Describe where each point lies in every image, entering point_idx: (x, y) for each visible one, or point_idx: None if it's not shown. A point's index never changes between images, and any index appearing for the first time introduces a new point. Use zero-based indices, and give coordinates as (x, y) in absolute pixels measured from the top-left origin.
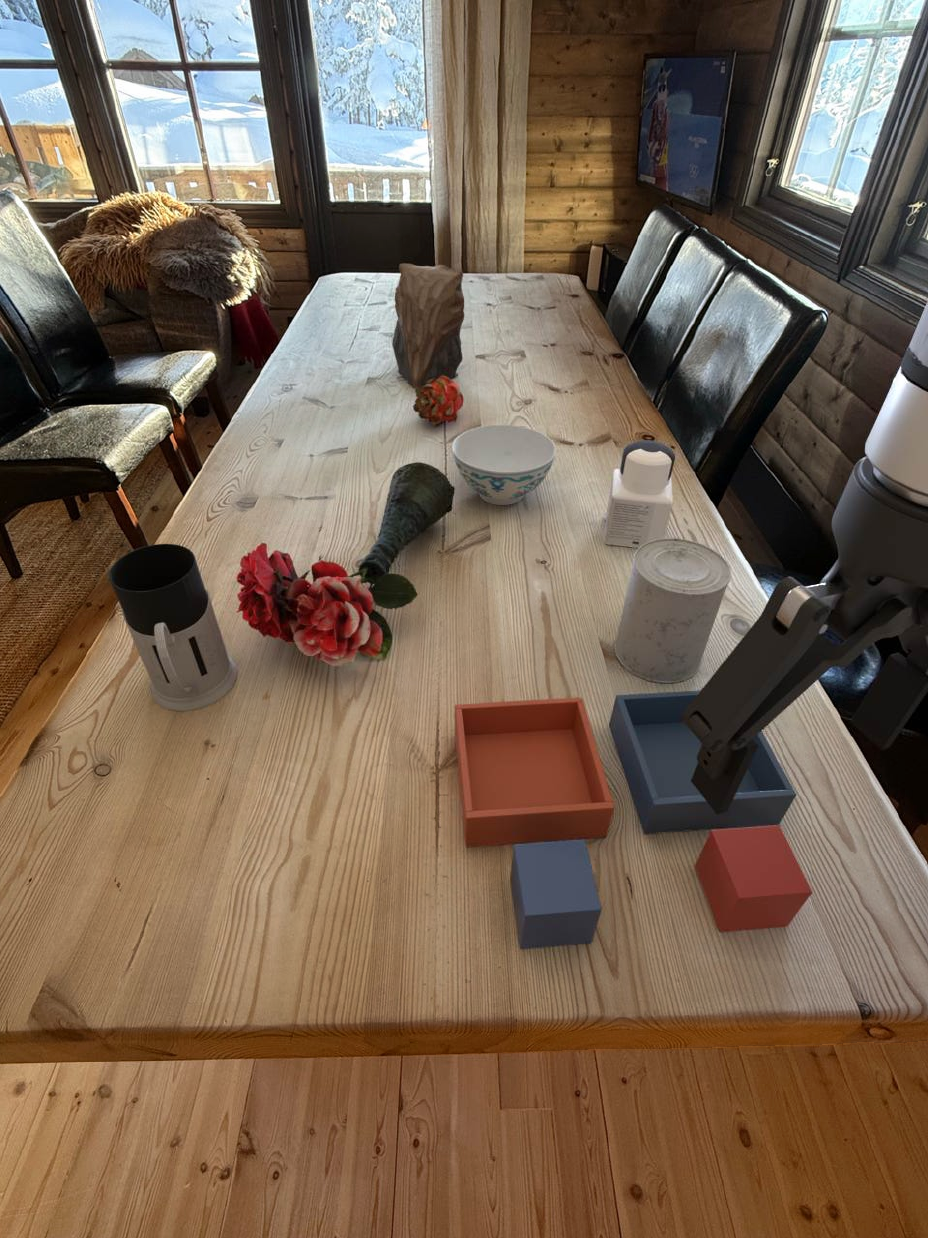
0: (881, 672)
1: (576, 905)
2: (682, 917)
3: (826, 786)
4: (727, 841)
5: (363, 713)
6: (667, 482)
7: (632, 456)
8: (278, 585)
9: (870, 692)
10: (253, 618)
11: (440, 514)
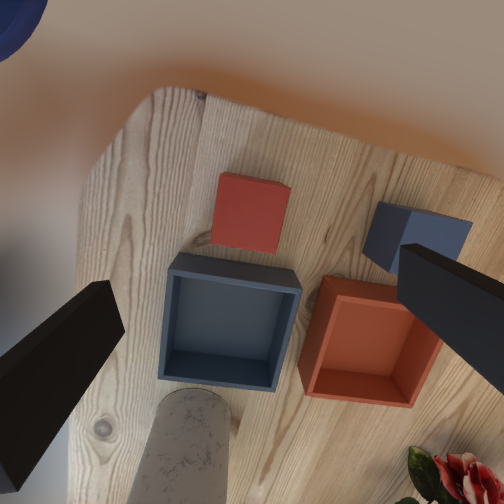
0: (55, 432)
1: (430, 220)
2: (301, 201)
3: (116, 273)
4: (268, 240)
5: (445, 406)
6: None
7: None
8: None
9: (88, 381)
10: None
11: None
